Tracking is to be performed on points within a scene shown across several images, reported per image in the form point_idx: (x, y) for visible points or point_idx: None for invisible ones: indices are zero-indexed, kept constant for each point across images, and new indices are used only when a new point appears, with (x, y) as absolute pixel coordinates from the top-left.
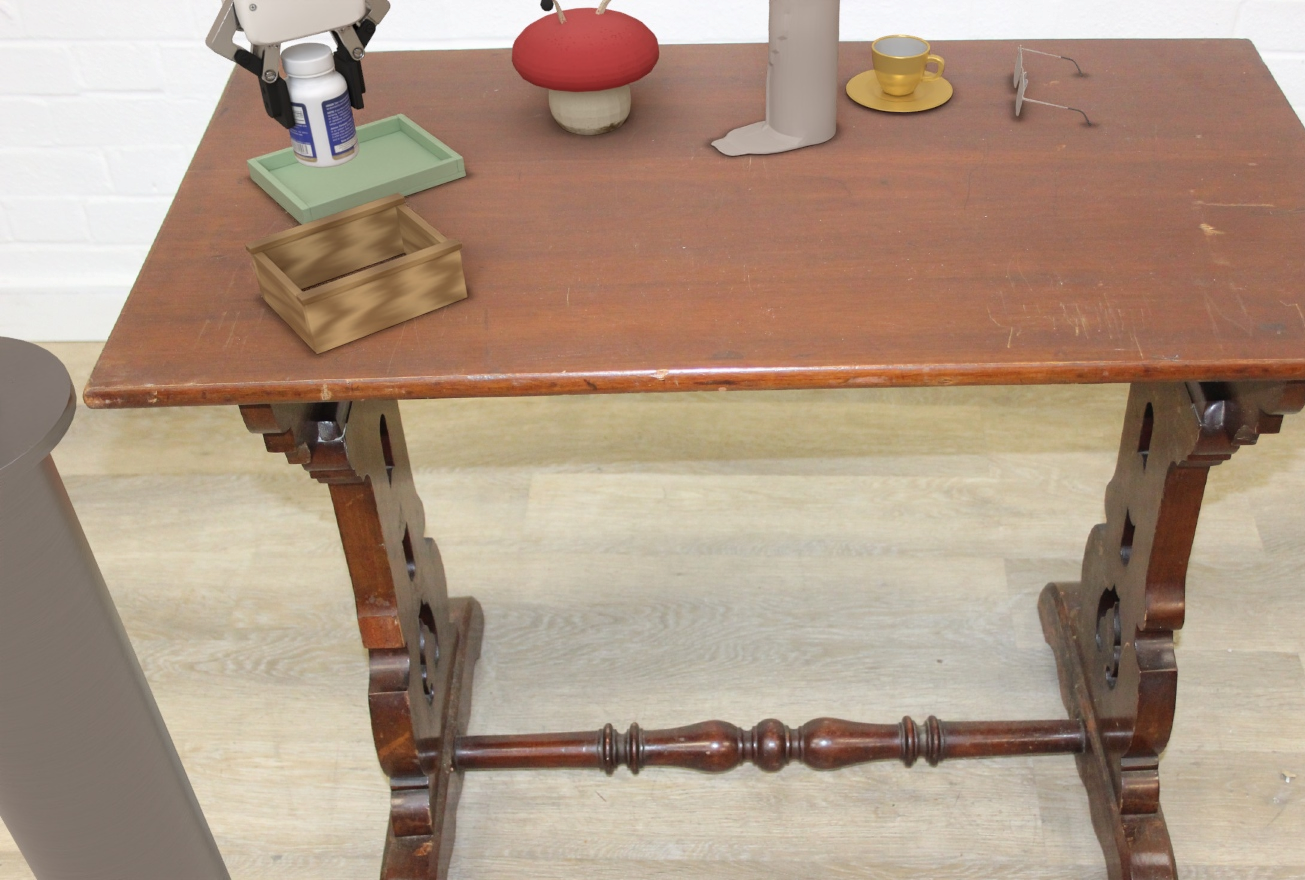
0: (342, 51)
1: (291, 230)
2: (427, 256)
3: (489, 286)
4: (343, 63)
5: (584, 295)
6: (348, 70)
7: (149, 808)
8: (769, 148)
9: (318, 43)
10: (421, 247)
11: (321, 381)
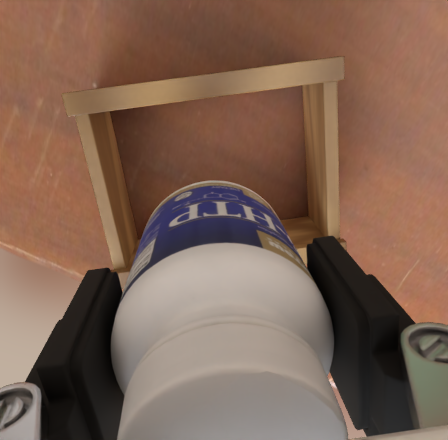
0: (386, 423)
1: (142, 92)
2: None
3: (351, 213)
4: (356, 404)
5: (422, 280)
6: (351, 415)
7: None
8: None
9: (321, 404)
10: (314, 147)
11: None
